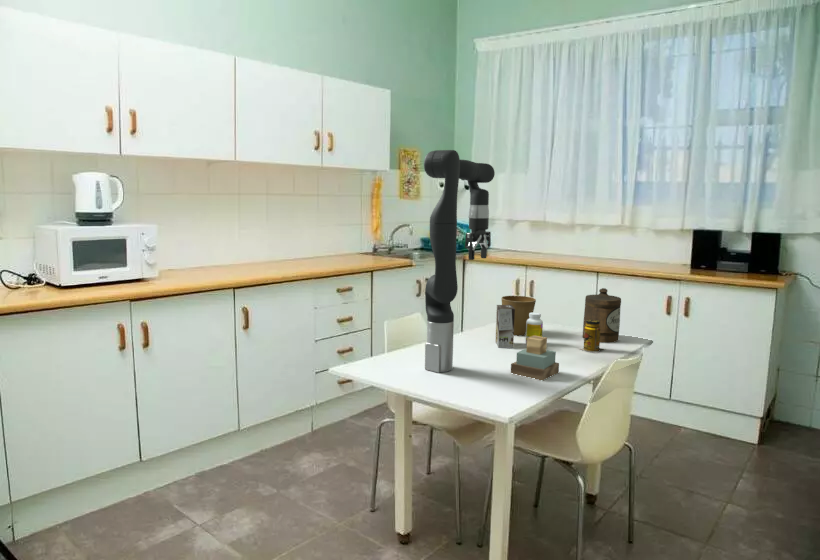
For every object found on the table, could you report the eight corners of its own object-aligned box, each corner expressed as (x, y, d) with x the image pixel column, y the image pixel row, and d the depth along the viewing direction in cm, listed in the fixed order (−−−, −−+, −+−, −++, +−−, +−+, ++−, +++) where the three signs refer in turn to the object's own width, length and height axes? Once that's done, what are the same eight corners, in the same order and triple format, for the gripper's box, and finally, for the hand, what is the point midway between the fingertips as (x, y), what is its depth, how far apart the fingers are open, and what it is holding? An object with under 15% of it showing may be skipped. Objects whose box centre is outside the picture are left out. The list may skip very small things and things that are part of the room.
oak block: (539, 354, 202) (540, 340, 201) (526, 352, 205) (527, 337, 204) (546, 351, 205) (547, 337, 205) (533, 349, 209) (533, 335, 208)
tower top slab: (543, 369, 199) (544, 357, 198) (516, 364, 204) (516, 352, 204) (555, 362, 207) (555, 351, 206) (528, 357, 212) (528, 346, 212)
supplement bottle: (542, 346, 242) (543, 315, 240) (525, 345, 243) (527, 314, 241) (541, 342, 249) (542, 312, 247) (525, 341, 250) (526, 311, 248)
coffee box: (513, 348, 239) (515, 308, 236) (497, 347, 239) (499, 308, 237) (510, 342, 248) (512, 304, 245) (495, 342, 248) (496, 304, 246)
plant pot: (503, 337, 256) (504, 301, 253) (497, 329, 270) (499, 295, 268) (537, 338, 256) (539, 301, 253) (530, 330, 271) (532, 295, 268)
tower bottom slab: (542, 382, 198) (542, 370, 197) (510, 374, 205) (511, 363, 205) (558, 374, 207) (559, 363, 206) (527, 367, 214) (528, 356, 214)
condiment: (579, 349, 238) (580, 320, 236) (590, 346, 244) (591, 317, 242) (595, 353, 233) (597, 323, 231) (606, 349, 238) (608, 320, 237)
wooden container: (617, 344, 247) (620, 292, 244) (580, 340, 253) (583, 289, 249) (619, 336, 260) (623, 287, 257) (584, 333, 266) (587, 284, 263)
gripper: (476, 217, 220) (475, 261, 223) (497, 216, 231) (495, 258, 234) (460, 217, 225) (459, 259, 228) (480, 216, 236) (479, 256, 238)
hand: (477, 259), depth 231 cm, fingers open, 8 cm apart
